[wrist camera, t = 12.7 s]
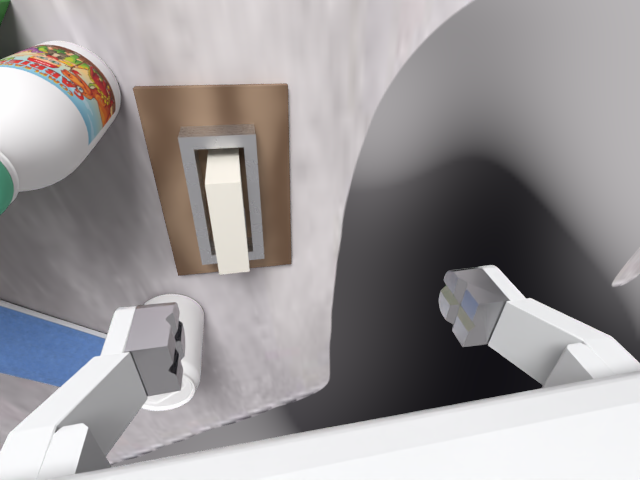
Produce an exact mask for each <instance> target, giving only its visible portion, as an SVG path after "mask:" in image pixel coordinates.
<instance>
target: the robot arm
mask: <svg viewBox="0 0 640 480" xmlns="http://www.w3.org/2000/svg"><path fill="white" fill-rule="evenodd" d="M444 282H445V283H446V286H445V287H444V288H443V289H442V290H441V292H440V296H439V307H440V310H441V313H442V315H443V316H444V318H445V319H446V320H447V321H448V322H450V323H452V324H453V329H452V331H453V332H454V334H455V336H456V337H457V339H458V340H459V342H460V343H461V345H462V347H467V346H475V345H483V344H488V346H490V347H491V348H493V349H494V350H495V351H497V352H498V353H499V354H501V355H502V356H504V357H505V358H506V359H508V360H509V361H510V362H512V363H513V364H515V365H516V366H517V367H519V368H520V369H521V370H523V371H524V372H526V373H527V374H528V375H530V376H531V377H533V378H534V379H535V380H537V381H538V382H539V383H541V384H542V385H543V386H542V388H541V389H536V390H531V391H526V392H520V393H514V394H509V395H503V396H498V397H492V398H487V399H482V400H477V401H471V402H466V403H460V404H455V405H450V406H444V407H438V408H433V409H427V410H422V411H417V412H411V413H406V414H400V415H395V416H390V417H384V418H379V419H373V420H368V421H363V422H357V423H351V424H346V425H340V426H335V427H330V428H324V429H319V430H313V431H307V432H302V433H296V434H291V435H286V436H280V437H275V438H270V439H263V440H258V441H253V442H247V443H242V444H236V445H231V446H225V447H220V448H214V449H209V450H204V451H199V452H193V453H187V454H182V455H176V456H171V457H165V458H160V459H154V460H150V461H144V462H138V463H133V464H127V465H122V466H116V467H111V465H110V464H109V462H108V460H107V458H106V455H107V454H108V453H109V451H110V450H111V449H112V447H113V446H114V444H115V443H116V442H117V440H118V439H119V438H120V436H121V435H122V433H123V432H124V431H125V429H126V428H127V427H128V425H129V424H130V422H131V421H132V420H133V418H134V417H135V416H136V414H137V413H138V411H139V410H140V409H141V407H142V406H143V405H144V403H145V402H146V400H147V399H148V396H154V395H159V394H165V393H170V392H176V391H181V385H182V377H183V367H182V363H181V360H182V359H183V357H184V356H185V332H184V327H183V323H182V322H180V321H179V314H180V311H179V307H178V304H177V303H176V302H170V303H159V304H148V305H138V306H131V307H120V308H117V310H116V311H115V312H114V315H113V318H112V321H111V324H110V327H109V330H108V333H107V336H106V339H105V342H104V346H103V349H102V352H101V355H100V356H96V357H93V358H92V359H91V360H90V361H89V362H88V363H87V364H85V365H84V366H83V367H82V368H81V369H80V370H79V371H78V372H77V373H75V374H74V375H73V376H72V377H71V378H70V379H69V380H68V381H67V382H65V383H64V384H63V385H62V386H61V387H60V388H59V389H58V390H57V391H55V392H54V393H53V394H52V395H51V396H50V397H49V398H48V399H47V400H46V401H44V402H43V403H42V404H41V405H40V406H39V407H38V408H37V409H36V410H34V411H33V412H32V413H31V414H30V415H29V416H28V417H27V418H26V419H24V420H23V421H22V422H21V423H20V424H19V425H18V426H17V427H16V428H14V429H13V430H12V431H11V432H10V433H9V435H8V437H7V439H6V441H5V443H4V445H3V447H2V450H1V452H0V480H640V363H639V362H638V361H637V360H636V359H635V358H634V357H633V356H632V355H630V354H629V353H628V352H627V351H626V350H625V349H624V348H623V347H622V346H621V345H620V344H619V343H618V342H617V341H616V340H615V339H613V337H611V336H609V335H607V334H605V333H603V332H601V331H599V330H597V329H595V328H592V327H590V326H588V325H586V324H584V323H582V322H580V321H577V320H575V319H573V318H571V317H569V316H567V315H565V314H563V313H561V312H558V311H556V310H554V309H552V308H550V307H548V306H546V305H544V304H542V303H539V302H537V301H535V300H533V299H531V298H529V299H526V298H525V297H524V296H523V295H522V294H521V293H520V292H519V290H518V289H517V288H516V287H515V286H514V285H513V284H512V283H511V282H510V281H509V280H508V279H507V277H506V276H505V275H504V274H503V273H502V272H501V271H500V270H499V269H498V268H497V267H496V266H494V265H489V266H481V267H476V268H475V267H474V268H466V269H458V270H450V271H448V272H447V273H446V274H445V278H444Z"/></svg>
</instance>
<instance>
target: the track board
mask: <svg viewBox="0 0 640 480" xmlns="http://www.w3.org/2000/svg"><path fill="white" fill-rule="evenodd" d="M133 91H134V95H135V99H136V103H137V107H138V111H139V116H140V120H141V124H142V128H143V132H144V136H145V140H146V144H147V149H148V153H149V157H150V161H151V165H152V169H153V173H154V177H155V182H156V186H157V190H158V194H159V198H160V202H161V206H162V210H163V214H164V219H165V223H166V227H167V231H168V235H169V239H170V243H171V247H172V252H173V256H174V260H175V264H176V268H177V272H178V276H179V275H189V274H198V273H208V272H218V271H219V269H218V263H217V264H207V265H202V261H201V256H200V251H199V246H198V240H197V235H196V230H195V225H194V220H193V214H192V209H191V204H190V199H189V193H188V188H187V183H186V178H185V173H184V167H183V162H182V157H181V152H180V146H179V141H178V135H179V132H180V128H181V127H187V126H214V125H241V124H254V128H255V133H256V145H257V160H258V174H259V188H260V202H261V216H262V231H263V245H264V259H257V260H249V268H256V267H266V266H276V265H285V264H291V224H290V173H289V122H288V85H287V84H240V85H187V86H135V87H134V88H133ZM238 150H239V160H240V170H241V180H242V191H243V201H244V208H245V216H246V227H247V230H246V231H247V237H252V233H251V222H250V211H249V200H248V189H247V178H246V167H245V156H244V147H238ZM198 155H199V161H200V167H201V174H202V180H203V186H204V192H205V198H206V204H207V210H208V216H209V222H210V228H211V235H212V240H214V238H213V232H212V226H211V220H210V214H209V207H208V201H207V195H206V189H205V177H206V167H207V156H208V149H198Z"/></svg>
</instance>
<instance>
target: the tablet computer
mask: <svg viewBox="0 0 640 480" xmlns="http://www.w3.org/2000/svg"><path fill="white" fill-rule="evenodd" d="M106 336H107V334H105V333H101V332H98V331H95V330H92V329H89V328H86V327H82V326H79V325H76V324H73V323H70V322H67V321H64V320H61V319H58V318H54V317H51V316H48V315H45V314H42V313H39V312H36V311H33V310H30V309H27V308H24V307H21V306H18V305H14V304H11V303H9V302H6V301H2V300H0V373H2V374H7V375H11V376H15V377H19V378H24V379H28V380H32V381H36V382H40V383H44V384H48V385H53V386H57V387H61V386H62V385H63V384H64V383H65V382H67V381H68V380H69V379H70V378H71V377H72V376H73V375H74V374H75V373H77V372H78V371H79V370H80V369H81V368H82V367H83V366H84V365H85V364H87V363H88V362H89V361H90V360H91V359H92V358H93V357H96V356H100V355H101V352H102V349H103V346H104V342H105V339H106Z"/></svg>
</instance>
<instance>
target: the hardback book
mask: <svg viewBox="0 0 640 480" xmlns="http://www.w3.org/2000/svg"><path fill="white" fill-rule="evenodd" d="M9 3H10V0H0V25H1V23H2V20H3V18H4V15H5V13H6V10H7V8H8V5H9Z"/></svg>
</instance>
